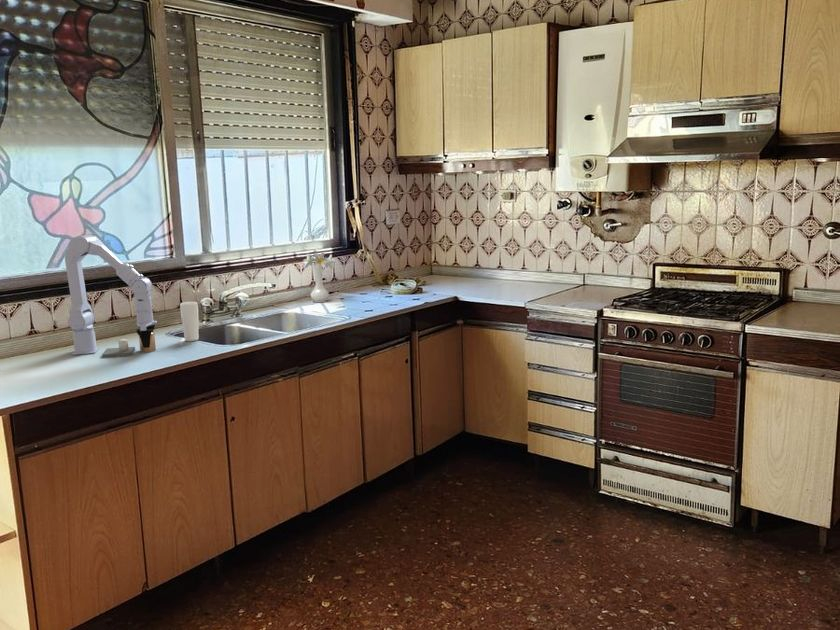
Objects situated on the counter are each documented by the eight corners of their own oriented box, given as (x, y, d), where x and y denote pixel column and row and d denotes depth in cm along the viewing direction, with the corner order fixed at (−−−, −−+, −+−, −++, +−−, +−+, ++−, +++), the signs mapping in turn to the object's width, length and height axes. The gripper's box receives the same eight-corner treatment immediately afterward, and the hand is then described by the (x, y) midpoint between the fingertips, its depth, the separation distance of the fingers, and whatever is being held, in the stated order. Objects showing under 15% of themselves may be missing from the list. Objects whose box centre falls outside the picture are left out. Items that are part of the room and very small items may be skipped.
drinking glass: (179, 340, 295) (176, 303, 292) (195, 337, 300) (191, 300, 297) (188, 342, 290) (185, 305, 288) (204, 339, 295) (200, 302, 292)
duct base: (107, 351, 279) (105, 338, 278) (135, 349, 281) (133, 336, 280) (102, 357, 270) (100, 343, 269) (131, 355, 272) (129, 341, 271)
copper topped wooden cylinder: (141, 349, 282) (139, 332, 280) (156, 348, 283) (155, 331, 281) (139, 352, 276) (137, 335, 275) (154, 351, 277) (153, 334, 276)
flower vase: (340, 298, 384) (338, 250, 379) (321, 304, 368) (318, 254, 363) (319, 297, 390) (316, 250, 385) (299, 303, 373) (296, 254, 369)
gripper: (153, 313, 271) (156, 349, 273) (157, 306, 284) (161, 341, 287) (132, 314, 269) (136, 350, 272) (138, 307, 283) (141, 342, 285)
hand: (147, 345), depth 279 cm, fingers closed on copper topped wooden cylinder, 5 cm apart
